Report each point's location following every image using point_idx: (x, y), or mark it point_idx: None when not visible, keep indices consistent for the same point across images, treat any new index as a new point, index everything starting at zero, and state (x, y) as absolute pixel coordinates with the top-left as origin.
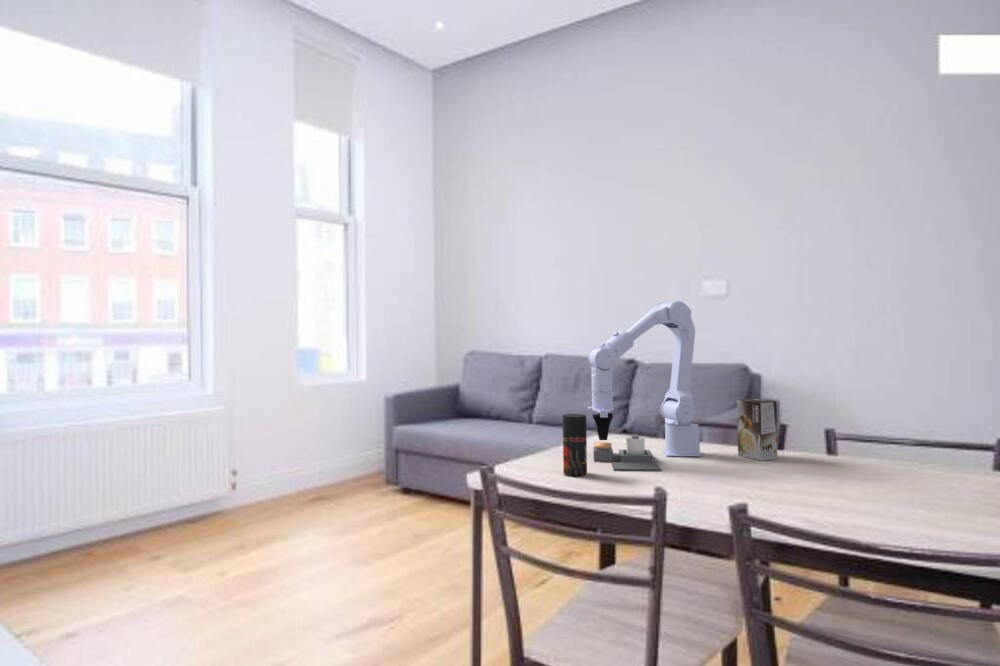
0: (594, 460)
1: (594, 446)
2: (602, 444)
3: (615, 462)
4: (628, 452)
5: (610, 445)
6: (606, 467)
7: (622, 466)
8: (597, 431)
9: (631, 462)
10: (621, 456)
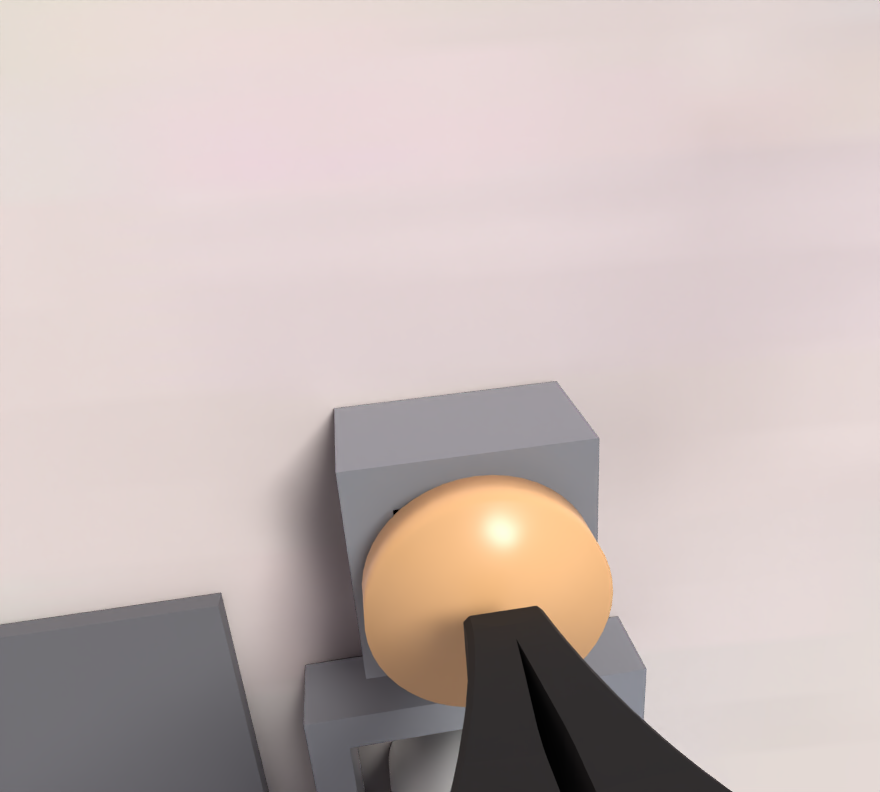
0: (335, 417)
1: (455, 489)
2: (422, 615)
3: (219, 638)
4: (430, 780)
5: (430, 691)
6: (39, 559)
7: (26, 715)
8: (571, 682)
9: (254, 760)
10: (305, 719)
